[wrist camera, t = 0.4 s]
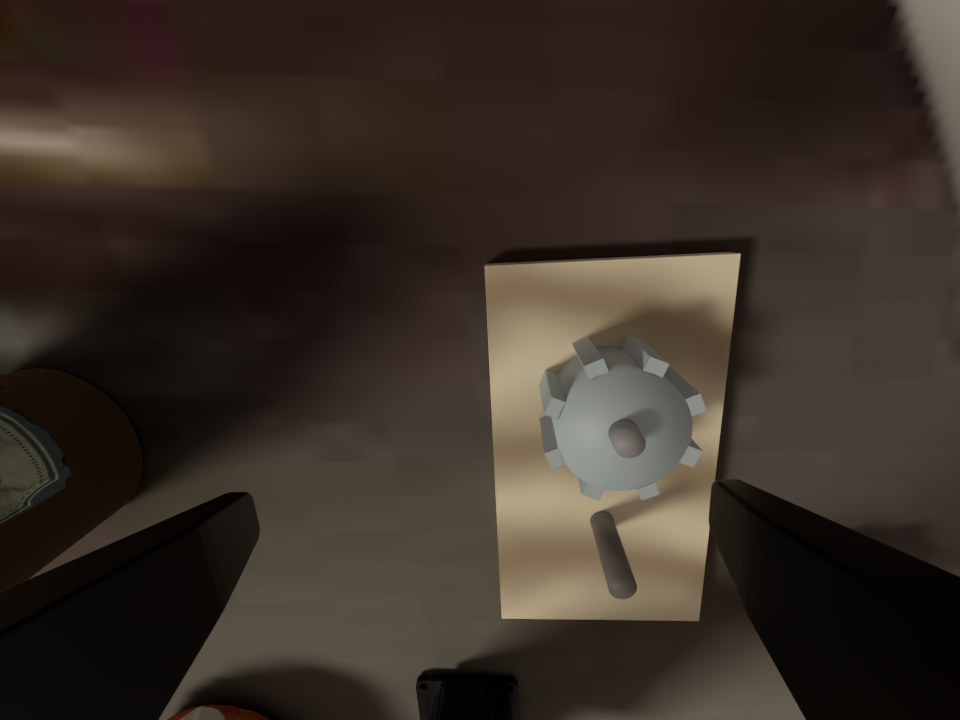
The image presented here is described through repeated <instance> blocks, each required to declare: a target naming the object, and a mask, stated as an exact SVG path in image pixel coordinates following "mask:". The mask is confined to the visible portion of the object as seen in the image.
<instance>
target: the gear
mask: <svg viewBox="0 0 960 720" xmlns="http://www.w3.org/2000/svg"><path fill="white" fill-rule="evenodd" d="M572 345H573V348H574V350H575V352H576V356H574V357H573V358H571V359H570V360H569V361H568V362H567V363H565V365H564V366H563V367H562V368H561V369H560V370H559V372H558V373H557V374H555V373H552V372H549V371H546V370H545V371H544V373H543V376H542V378H541V380H540V383H539V390H540V395H541V400H542V406H543V411H544V415H547V416H544V417H542V418H539V421H540V427H541V434H542V440H543V447H544V453H545V456H546V458H547V460H548V462H549V464H550V466H551V468H552V469H554V468H557V467H559V466H562V465H565V464H566V465H567V467H568V468H569V469H570V470H571V471H572V472H573V473H574V474H575V475H576V476H577V479H578V482H579V486H580V490H581V494H582V495H584V496H587V497H590V498H592V499H595V500H598V501H599V500H600V499H601V497H602V495H603V493H604V491H605V489H606V490H612V491H627V490H634V489H636V490H637V492H638V494H639V496H640V498H641V500H645V499H648V498H650V497H653V496H656V495H659V494H660V493H659V490H658V488H657V486H656V483H655V482H657V481H659V480H661V479H662V478H664V477H665V476H666V475H668V474H669V473H670V472H671V471H672V470H673V469H675V467H676V466H677V465H678V464H679V463H682V464H685V465H688V466H691V467H694V465H695V464H696V462H697V460H698V458H699V457H700V455H701V453H702V452H703V451H702V450H701V449H700V447H699V446H698V445H697V444H696V443H695V442H694V440H693V439H692V438H691V437H692V424H693V423H692V416H695V415H697V414H700V413H702V412H705V411H707V410H706V407H705V404H704V402H703V399H702V396H701V393H699V392H698V391H697V390H696V389H695V388H694V387H693V386H691V385H690V384H689V383H688V382H687V381H686V380H685V379H683V378H682V377H681V376H680V375H679V374H678V373H677V372H675V371H674V370H673V369H672V368H671V367H670V366H669V363H668V362H667V361H666V360H665V359H663V358H662V357H661V356H660V355H659V354H658V353H657V352H655V351H654V350H653V349H652V348H651V347H650V346H648V345H647V344H646V343H645V342H644V341H642V340H639V339H636V338H633V337H631V336H628V335H627V337H626V339H625V341H624V343H623V345H622V347H617V346H602V347H595V346H594V344H593V343H592V342H591V340H590V339H589V337H586V338H584V339H581V340H579V341H577V342H574V343H572ZM668 366H669V367H668Z"/></svg>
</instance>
